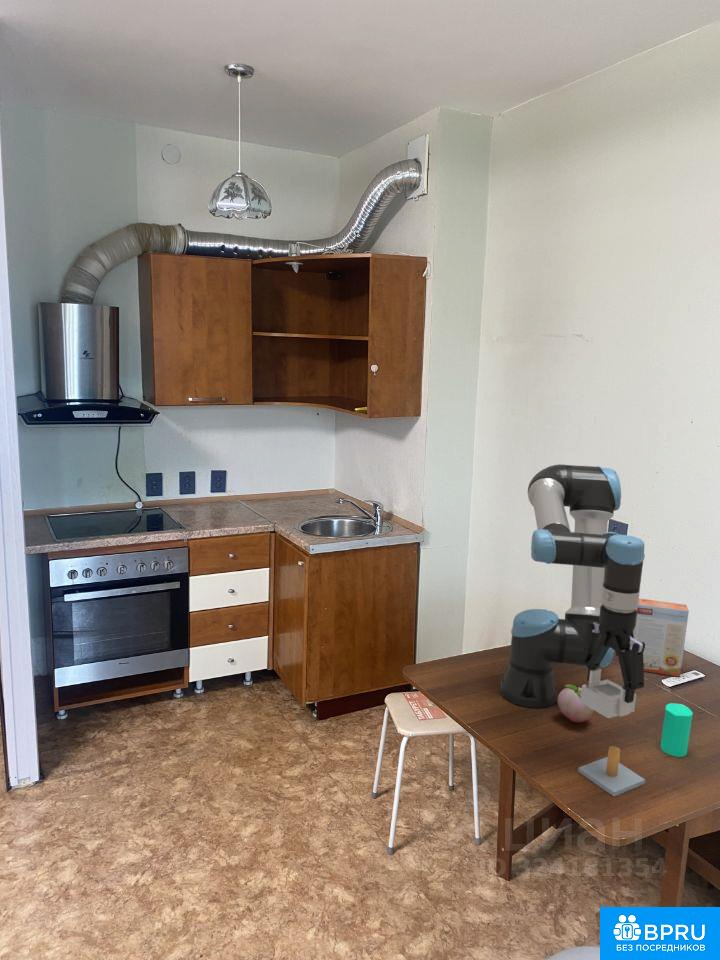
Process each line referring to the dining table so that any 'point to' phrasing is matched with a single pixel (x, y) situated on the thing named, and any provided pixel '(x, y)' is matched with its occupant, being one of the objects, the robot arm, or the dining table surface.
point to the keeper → (611, 774)
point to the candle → (676, 729)
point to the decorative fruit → (573, 704)
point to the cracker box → (661, 635)
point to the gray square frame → (603, 698)
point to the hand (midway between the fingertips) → (607, 705)
